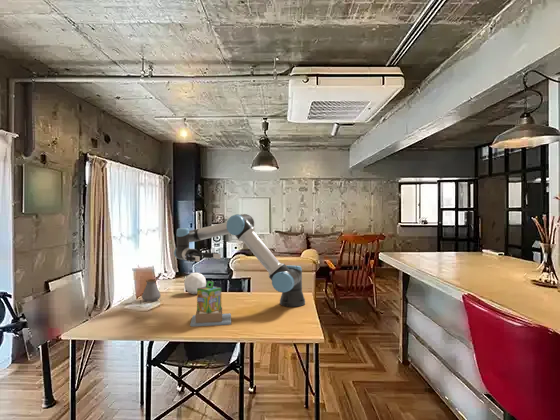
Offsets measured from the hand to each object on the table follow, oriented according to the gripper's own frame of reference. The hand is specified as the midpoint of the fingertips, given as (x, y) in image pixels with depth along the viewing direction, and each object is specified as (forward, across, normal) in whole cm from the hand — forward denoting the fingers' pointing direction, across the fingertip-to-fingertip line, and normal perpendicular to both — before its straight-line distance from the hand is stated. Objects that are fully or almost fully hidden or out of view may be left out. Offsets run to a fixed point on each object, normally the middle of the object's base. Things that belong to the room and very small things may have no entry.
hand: (209, 257), depth 222 cm
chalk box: (+16, +10, -25) cm, 31 cm away
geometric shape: (-46, -17, -30) cm, 58 cm away
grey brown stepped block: (+17, +10, -30) cm, 36 cm away
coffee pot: (-52, +9, -30) cm, 61 cm away
